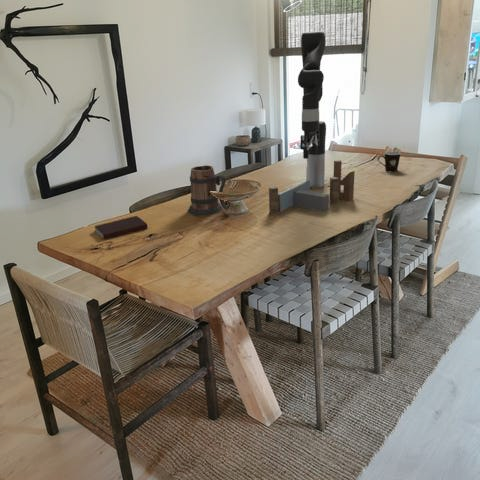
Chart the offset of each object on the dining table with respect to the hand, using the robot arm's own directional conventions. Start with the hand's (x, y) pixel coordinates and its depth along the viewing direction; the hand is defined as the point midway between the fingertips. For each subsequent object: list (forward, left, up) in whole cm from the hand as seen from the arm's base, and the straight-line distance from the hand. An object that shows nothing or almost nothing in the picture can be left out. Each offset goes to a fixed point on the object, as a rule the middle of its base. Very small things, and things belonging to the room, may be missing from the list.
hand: (310, 156), depth 211 cm
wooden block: (-3, +19, -24) cm, 31 cm away
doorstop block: (+1, 0, -24) cm, 24 cm away
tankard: (-17, -43, -24) cm, 52 cm away
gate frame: (+1, -3, -24) cm, 24 cm away
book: (-11, -85, -24) cm, 89 cm away
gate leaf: (-6, -5, -23) cm, 24 cm away
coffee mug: (-35, +70, -24) cm, 82 cm away
